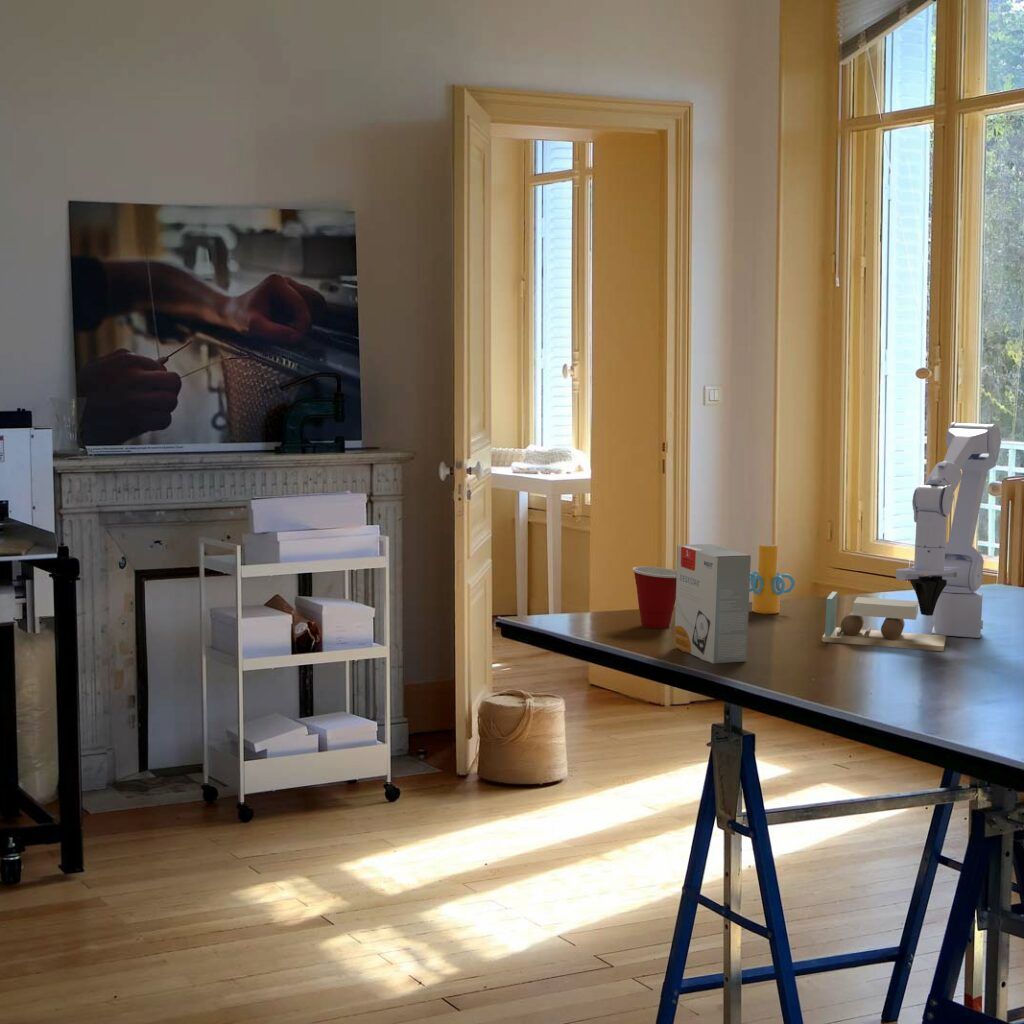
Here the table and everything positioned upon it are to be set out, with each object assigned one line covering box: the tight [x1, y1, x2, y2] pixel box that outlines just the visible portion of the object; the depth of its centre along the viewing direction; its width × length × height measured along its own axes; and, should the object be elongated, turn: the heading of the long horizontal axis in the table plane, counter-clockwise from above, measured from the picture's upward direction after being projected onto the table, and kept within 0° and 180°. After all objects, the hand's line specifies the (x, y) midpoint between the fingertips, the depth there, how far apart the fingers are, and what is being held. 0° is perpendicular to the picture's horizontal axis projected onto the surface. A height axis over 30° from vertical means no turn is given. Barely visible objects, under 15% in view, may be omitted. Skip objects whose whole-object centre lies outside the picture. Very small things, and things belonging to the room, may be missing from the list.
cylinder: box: [749, 543, 796, 615], centre depth 314 cm, size 12×10×15 cm
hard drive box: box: [673, 543, 752, 664], centre depth 264 cm, size 16×8×20 cm, turn 21°
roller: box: [840, 611, 865, 636], centre depth 284 cm, size 4×6×4 cm
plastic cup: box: [632, 566, 677, 629], centre depth 293 cm, size 11×11×12 cm
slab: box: [852, 596, 919, 621], centre depth 282 cm, size 12×8×2 cm, turn 71°
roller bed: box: [821, 591, 947, 652], centre depth 282 cm, size 23×12×8 cm, turn 71°
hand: (926, 614), depth 279 cm, fingers closed
